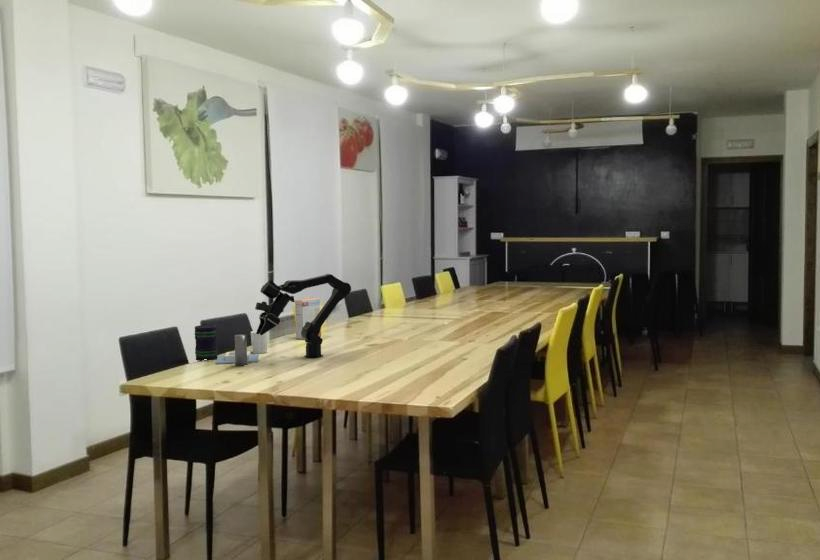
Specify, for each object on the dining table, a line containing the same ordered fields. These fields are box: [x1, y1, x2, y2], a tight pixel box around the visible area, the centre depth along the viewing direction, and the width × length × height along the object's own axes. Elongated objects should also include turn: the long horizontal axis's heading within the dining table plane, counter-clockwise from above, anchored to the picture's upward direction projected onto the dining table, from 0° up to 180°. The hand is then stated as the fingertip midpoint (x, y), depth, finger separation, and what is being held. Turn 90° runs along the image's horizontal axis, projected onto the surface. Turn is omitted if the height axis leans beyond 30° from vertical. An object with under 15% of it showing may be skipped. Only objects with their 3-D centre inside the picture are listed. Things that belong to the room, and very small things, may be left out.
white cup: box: [250, 330, 269, 354], centre depth 350 cm, size 8×8×10 cm
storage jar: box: [194, 324, 219, 362], centre depth 334 cm, size 10×10×15 cm
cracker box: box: [294, 297, 322, 341], centre depth 394 cm, size 14×6×21 cm, turn 144°
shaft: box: [234, 334, 248, 367], centre depth 318 cm, size 5×5×13 cm
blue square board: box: [215, 350, 260, 365], centre depth 332 cm, size 18×18×3 cm
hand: (258, 334), depth 325 cm, fingers open, 9 cm apart
